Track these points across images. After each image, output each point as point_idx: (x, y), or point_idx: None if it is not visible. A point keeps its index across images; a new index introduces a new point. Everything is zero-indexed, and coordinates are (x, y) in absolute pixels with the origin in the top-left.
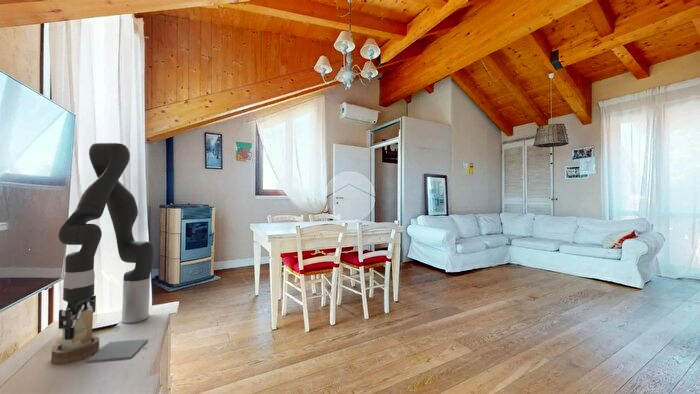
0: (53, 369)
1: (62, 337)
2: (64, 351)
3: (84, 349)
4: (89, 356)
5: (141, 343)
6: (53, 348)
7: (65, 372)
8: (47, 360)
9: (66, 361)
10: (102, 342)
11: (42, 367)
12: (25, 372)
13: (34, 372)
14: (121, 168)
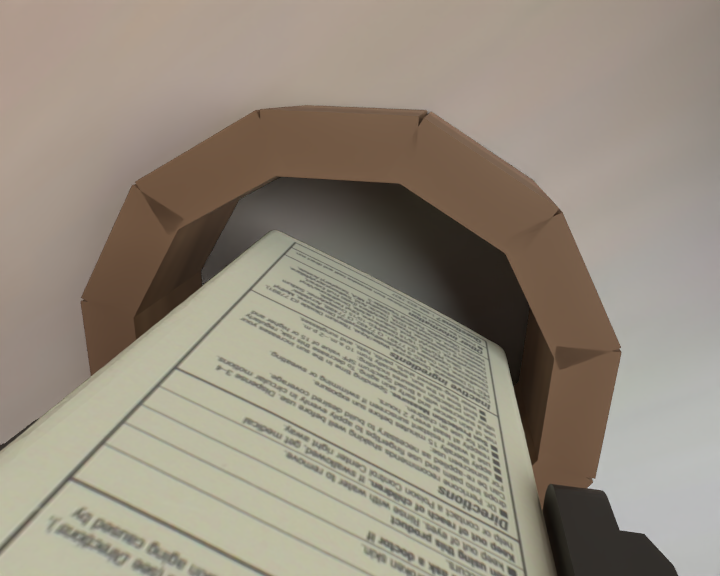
0: (69, 272)
1: (178, 306)
2: (111, 355)
3: None
4: None
5: None
6: (218, 150)
7: (19, 400)
8: (266, 79)
9: None
10: (627, 467)
11: (111, 135)
12: (22, 17)
13: (21, 121)
14: None
